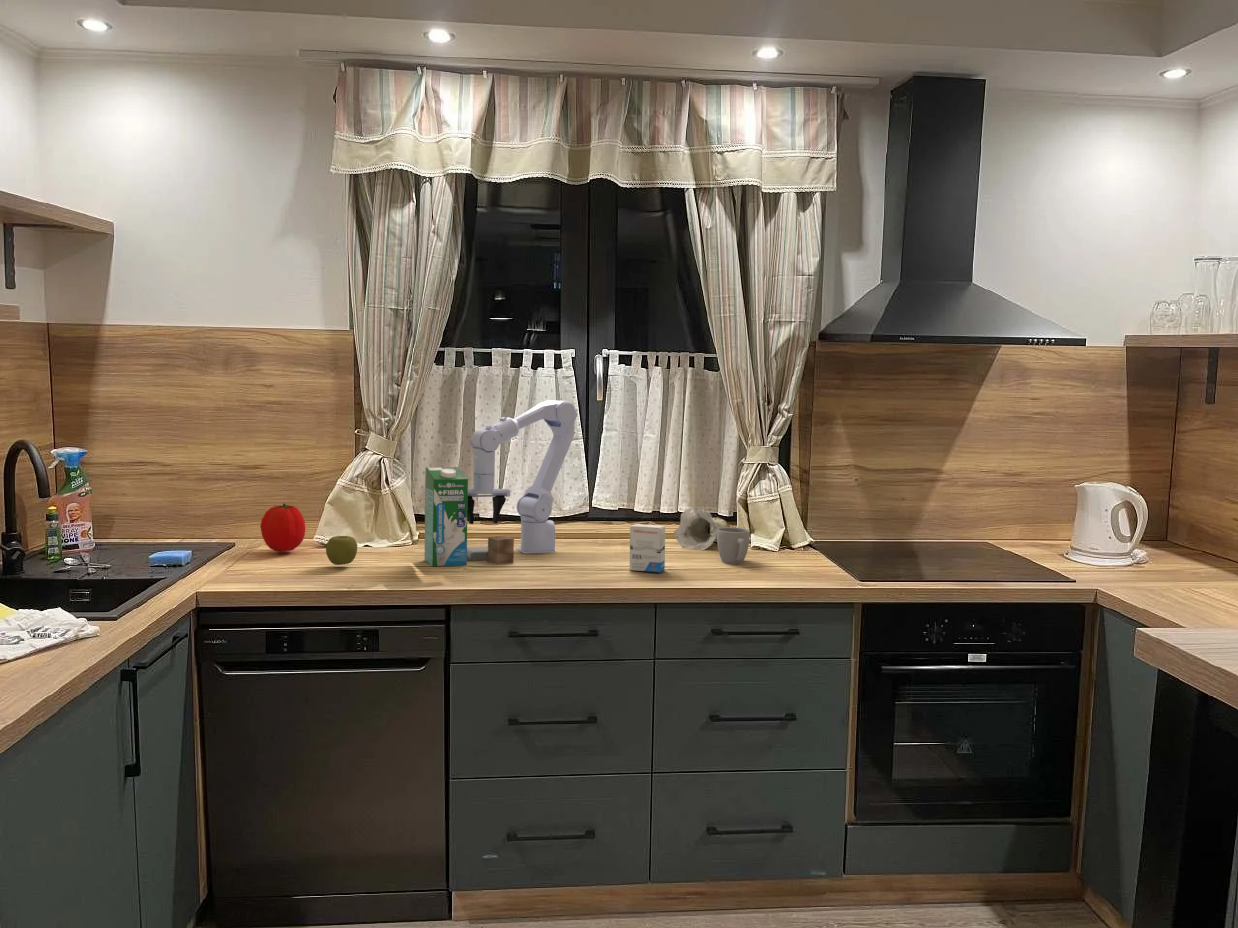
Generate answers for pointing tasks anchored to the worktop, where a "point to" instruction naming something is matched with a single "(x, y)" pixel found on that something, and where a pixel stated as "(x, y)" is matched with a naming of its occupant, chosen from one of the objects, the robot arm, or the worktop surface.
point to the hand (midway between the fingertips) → (483, 523)
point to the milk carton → (446, 516)
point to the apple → (341, 549)
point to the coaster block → (477, 553)
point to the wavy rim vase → (698, 529)
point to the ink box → (647, 548)
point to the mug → (733, 544)
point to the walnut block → (500, 550)
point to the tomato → (283, 528)
